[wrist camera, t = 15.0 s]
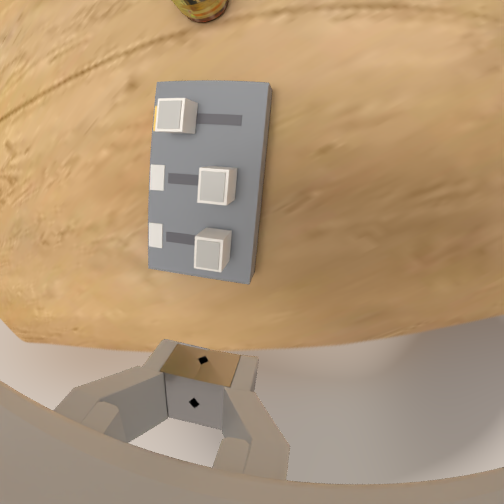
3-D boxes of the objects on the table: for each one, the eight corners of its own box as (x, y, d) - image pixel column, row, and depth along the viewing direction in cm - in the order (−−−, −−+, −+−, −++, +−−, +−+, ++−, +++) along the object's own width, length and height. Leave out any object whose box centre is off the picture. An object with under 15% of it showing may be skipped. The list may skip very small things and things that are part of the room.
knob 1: (197, 103, 32) (184, 97, 28) (195, 133, 33) (181, 131, 30) (172, 103, 33) (157, 98, 29) (170, 133, 34) (154, 131, 30)
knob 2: (237, 168, 34) (228, 169, 30) (234, 199, 35) (225, 205, 31) (210, 165, 34) (198, 167, 30) (208, 197, 35) (196, 202, 31)
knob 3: (231, 230, 36) (222, 240, 32) (229, 260, 37) (220, 273, 33) (206, 227, 36) (194, 236, 33) (204, 256, 38) (193, 268, 34)
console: (272, 89, 35) (268, 82, 31) (254, 272, 42) (249, 285, 38) (168, 87, 36) (154, 81, 32) (159, 258, 43) (146, 268, 39)
